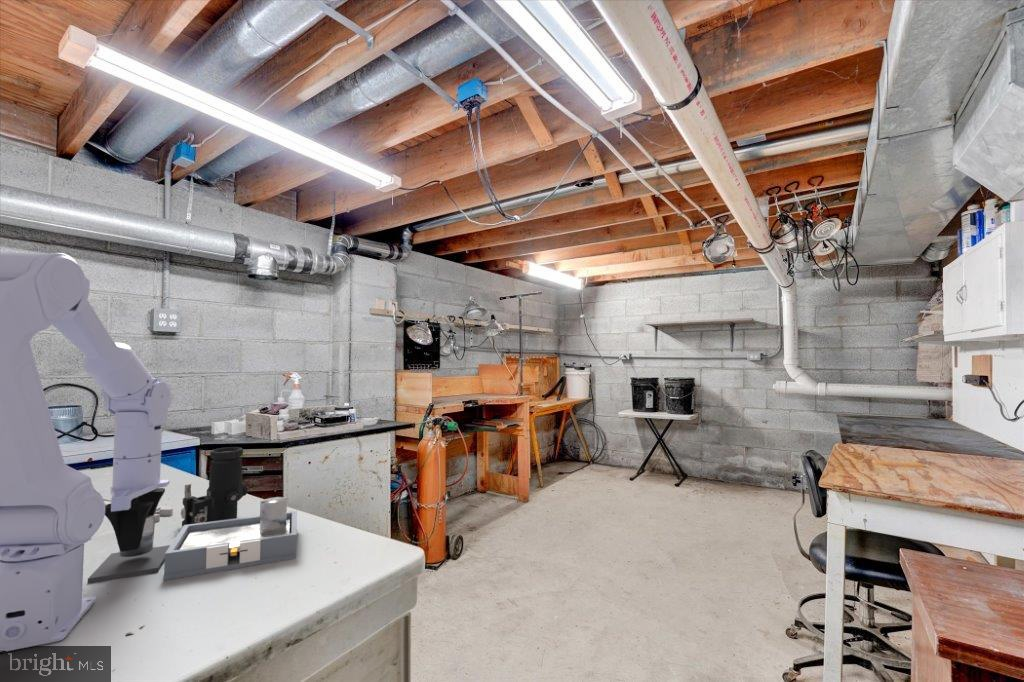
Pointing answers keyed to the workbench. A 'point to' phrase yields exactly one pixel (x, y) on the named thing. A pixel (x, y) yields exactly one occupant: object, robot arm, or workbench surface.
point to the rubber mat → (129, 565)
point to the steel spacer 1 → (143, 539)
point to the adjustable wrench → (160, 511)
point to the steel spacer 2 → (273, 515)
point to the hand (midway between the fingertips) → (134, 544)
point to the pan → (227, 536)
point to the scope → (217, 489)
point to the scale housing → (227, 549)
